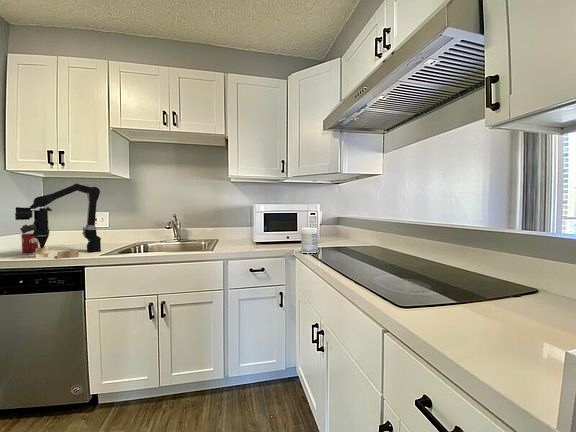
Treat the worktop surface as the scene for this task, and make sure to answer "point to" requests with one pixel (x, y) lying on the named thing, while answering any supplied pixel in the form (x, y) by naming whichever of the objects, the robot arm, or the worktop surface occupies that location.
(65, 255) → the walnut block
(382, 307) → the worktop surface
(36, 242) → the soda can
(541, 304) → the worktop surface
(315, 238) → the supplement tub
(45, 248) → the oak cube
